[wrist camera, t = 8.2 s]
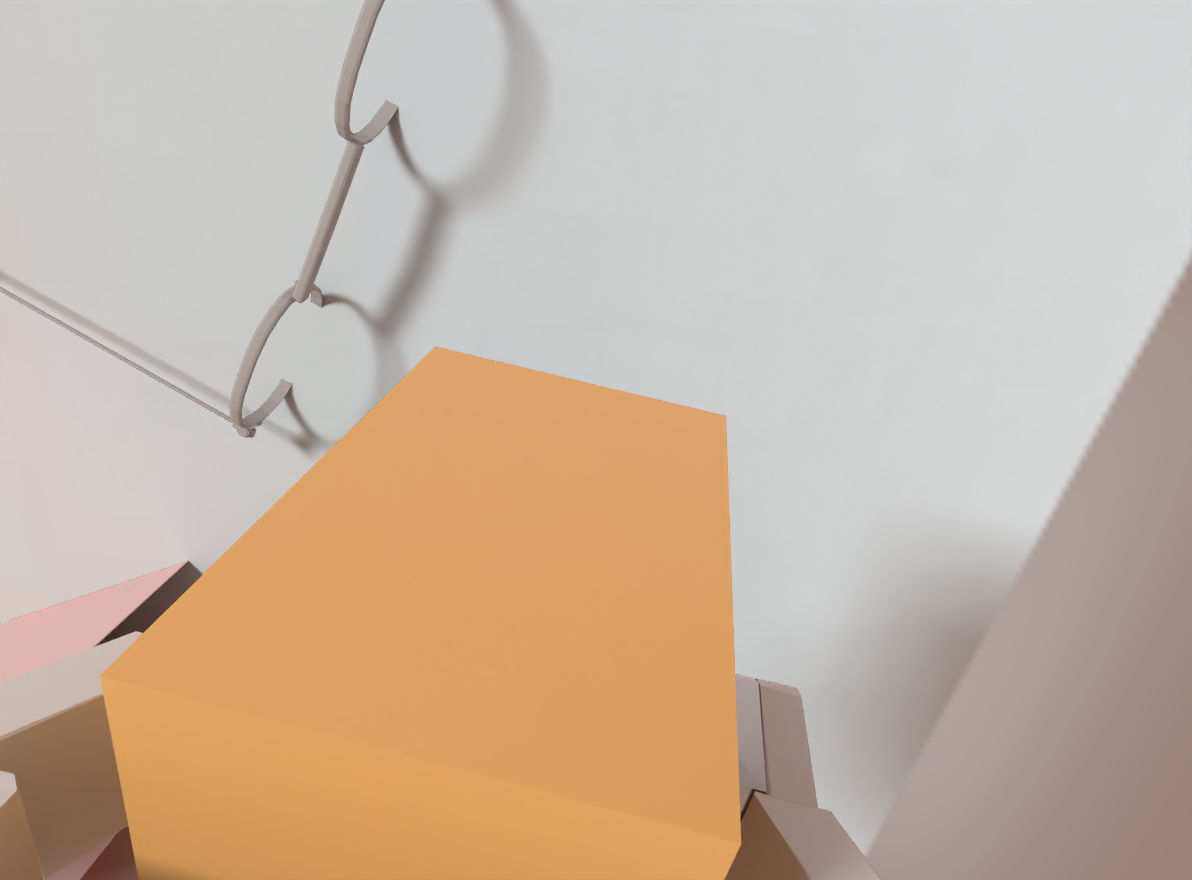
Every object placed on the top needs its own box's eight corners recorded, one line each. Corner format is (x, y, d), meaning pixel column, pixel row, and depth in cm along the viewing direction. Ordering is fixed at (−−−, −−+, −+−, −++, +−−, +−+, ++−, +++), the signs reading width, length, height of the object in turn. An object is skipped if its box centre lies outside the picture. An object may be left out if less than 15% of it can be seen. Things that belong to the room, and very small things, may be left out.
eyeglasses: (290, 422, 28) (226, 469, 24) (-170, 158, 26) (-311, 167, 23) (486, -73, 20) (433, -111, 16) (-160, -496, 18) (-375, -641, 15)
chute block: (435, 346, 10) (99, 676, 4) (725, 415, 10) (740, 844, 4) (406, 664, 12) (180, 1099, 7) (629, 722, 12) (567, 1208, 7)
